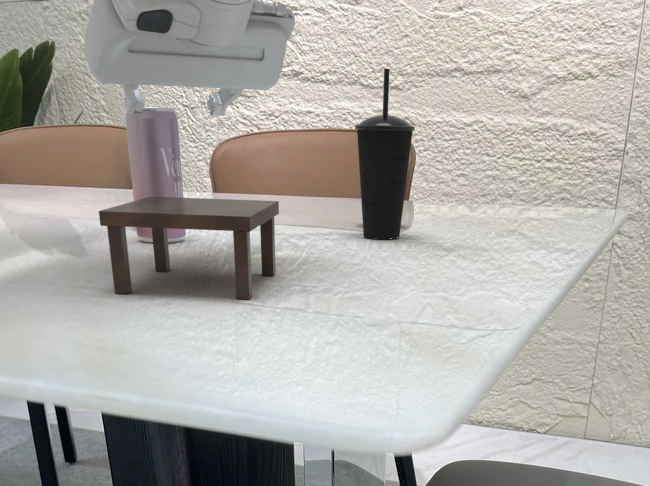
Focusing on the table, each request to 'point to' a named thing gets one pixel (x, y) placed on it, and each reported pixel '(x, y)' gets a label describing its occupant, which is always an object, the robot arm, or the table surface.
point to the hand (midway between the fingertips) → (175, 110)
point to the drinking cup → (383, 169)
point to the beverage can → (155, 160)
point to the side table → (192, 216)
